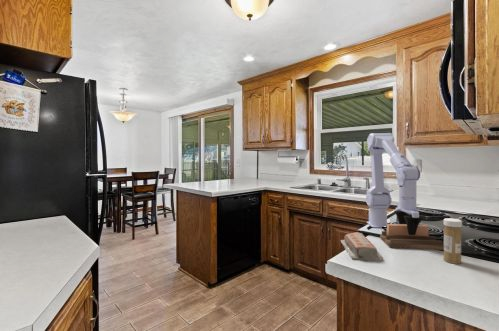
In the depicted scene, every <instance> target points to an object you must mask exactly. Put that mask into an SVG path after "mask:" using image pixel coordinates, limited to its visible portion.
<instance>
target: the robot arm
mask: <svg viewBox="0 0 499 331" xmlns="http://www.w3.org/2000/svg"><path fill="white" fill-rule="evenodd" d="M366 144H367V151H368V152H369V153H370V166H371V167H370V168H371V170H370V171H371V184H372V185H371V187H370V188H369V189H367V190H366V196H365V202H366V204H367V206H368V207H369V208H368V221H366V223H367V224H368V225H369V226H370V227H372V228H381V229H383V228H382V227H384V226H387V224H388V208H389V207H390V206H391V205H392V200H393V199H392V196H391V194H390V192H391V191H390V190H389V188H387V187H385V178H384V176H385V175H384V166H383V165H384V164H383V153H384V152H386V153H387V154H388V155H389V156H390V158H389V161H390V164H391V165H392V166H393V168H394V170H395V178H396V180H397V185H398V195H399V196H398V204H397V207H395V210H394V214H395V215H396V217H397V221H398V224H407V230H408V234H409V235H415V234H416V231H417V227H418V225H420V223H421V221H423V217H421V216H420V212H419V211H418V209H417V182H418V181H419V179H420V178H421V170H420V168H419V166H417V165H414V164H412V163H411V162H410V161H409V159H408V158H407V157H406V154H404V153H402V152H400V151H399V150H398V148H397V146H396V144H395V137H394V135H393V134H392V132H385V133H383V132H382V133H377V132H376V133H375V132H374V133H373V132H372V133H369V135H368V136H367V139H366Z"/></svg>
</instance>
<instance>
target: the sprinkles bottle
mask: <svg viewBox="0 0 499 331" xmlns="http://www.w3.org/2000/svg"><path fill="white" fill-rule="evenodd" d="M462 227H463V221H462V220H460V219H458V218H452V217H451V218H448V217H446V218H444V219H443V245H444V250H443V261H445V262H446V263H449V264H454V265H456V264H457V265H458V264H461V263H462Z"/></svg>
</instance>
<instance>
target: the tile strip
mask: <svg viewBox="0 0 499 331" xmlns="http://www.w3.org/2000/svg"><path fill="white" fill-rule="evenodd" d="M386 231H387V235H409V234H408V230H407V224H399V223H387V228H386ZM428 233H429V225H427V224H419V225H418V227H417V231H416V234H415V235H409V236H428Z"/></svg>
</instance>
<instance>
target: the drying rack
mask: <svg viewBox="0 0 499 331" xmlns="http://www.w3.org/2000/svg"><path fill="white" fill-rule="evenodd" d="M379 235H380V236H379V238H380V240H381V241H382V242H383V243H384V244H385V245H386V246H387V247H388V248H389V249H409V250H410V249H413V250H429V251H430V250H433V251H434V250H436V251H444V240H442V239H441V240H439V239H438V240H437V239H436V237H437V236H433V235H432V236H431V235H430V232H428V236H409V235H387V230H386V231H383V230H382V231H381V234H379Z"/></svg>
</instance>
